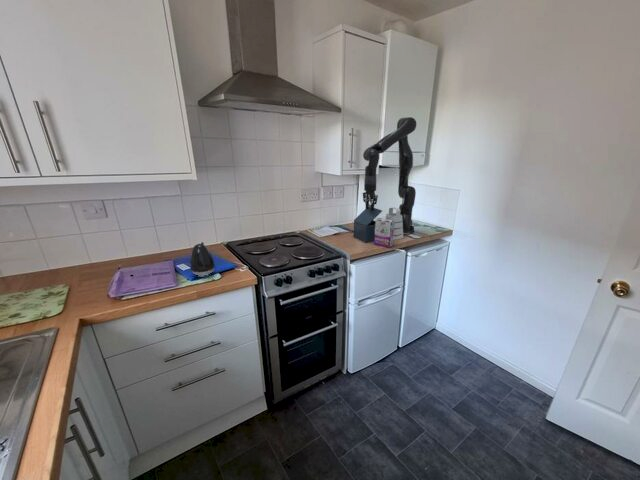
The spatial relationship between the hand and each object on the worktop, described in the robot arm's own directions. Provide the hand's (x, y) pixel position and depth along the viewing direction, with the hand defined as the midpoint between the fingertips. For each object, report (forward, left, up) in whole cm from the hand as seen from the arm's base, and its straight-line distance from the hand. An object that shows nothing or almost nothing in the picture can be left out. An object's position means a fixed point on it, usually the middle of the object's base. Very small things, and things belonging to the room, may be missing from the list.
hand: (369, 209), depth 193 cm
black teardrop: (+102, +14, -20) cm, 105 cm away
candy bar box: (-1, +16, -20) cm, 25 cm away
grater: (-17, +5, -20) cm, 26 cm away
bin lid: (+1, 0, -4) cm, 4 cm away
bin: (0, 0, -20) cm, 19 cm away
